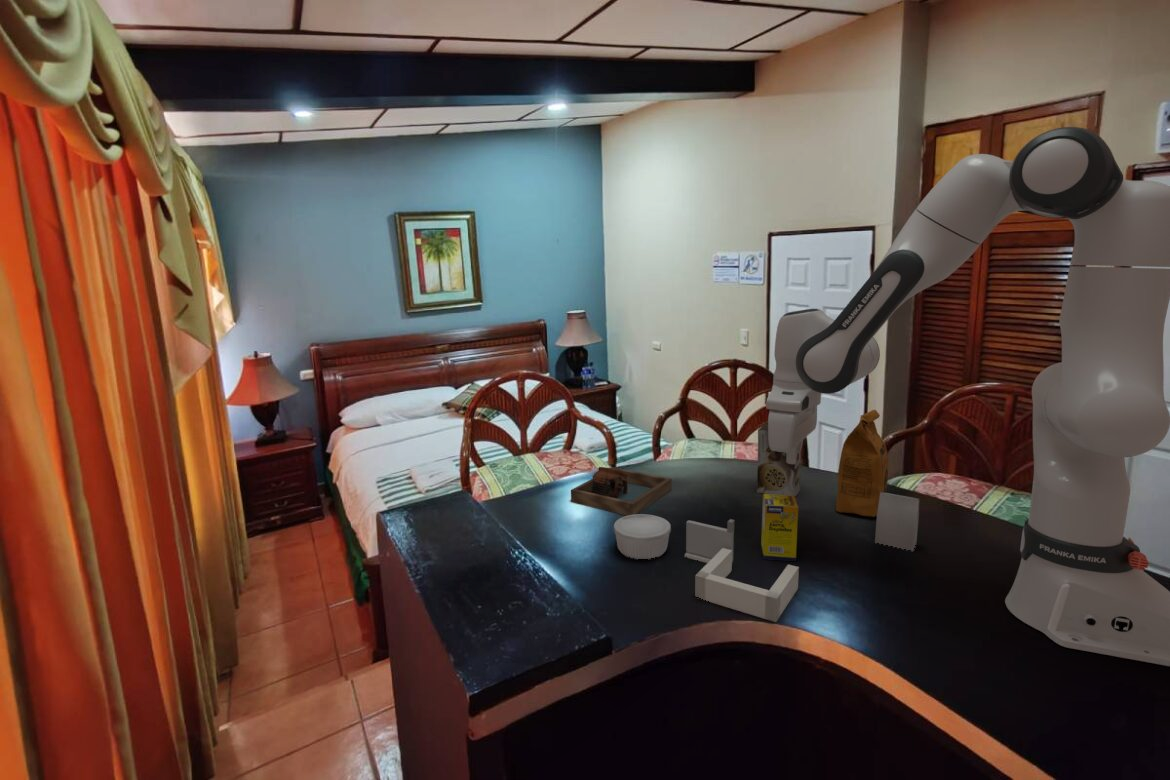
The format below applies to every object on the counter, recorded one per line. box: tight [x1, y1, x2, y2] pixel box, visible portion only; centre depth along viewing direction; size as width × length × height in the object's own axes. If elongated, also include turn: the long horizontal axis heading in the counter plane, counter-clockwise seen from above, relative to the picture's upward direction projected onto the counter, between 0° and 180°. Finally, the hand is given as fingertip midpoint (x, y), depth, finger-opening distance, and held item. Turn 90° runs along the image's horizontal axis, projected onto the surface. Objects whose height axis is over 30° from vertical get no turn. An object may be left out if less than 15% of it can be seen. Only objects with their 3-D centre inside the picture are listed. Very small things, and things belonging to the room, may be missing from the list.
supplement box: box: [760, 493, 799, 562], centre depth 115 cm, size 6×6×11 cm
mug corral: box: [570, 467, 673, 516], centre depth 146 cm, size 17×19×3 cm
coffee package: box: [835, 409, 889, 518], centre depth 133 cm, size 10×12×22 cm
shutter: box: [685, 518, 735, 563], centre depth 113 cm, size 9×1×8 cm, turn 55°
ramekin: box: [613, 513, 672, 560], centre depth 119 cm, size 11×11×5 cm
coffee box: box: [756, 422, 802, 497], centre depth 145 cm, size 9×6×16 cm
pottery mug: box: [589, 466, 629, 499], centre depth 146 cm, size 12×10×8 cm
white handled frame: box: [684, 548, 800, 623], centre depth 105 cm, size 21×14×4 cm
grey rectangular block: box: [874, 492, 920, 552], centre depth 117 cm, size 4×7×10 cm, turn 54°
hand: (792, 462), depth 119 cm, fingers closed
